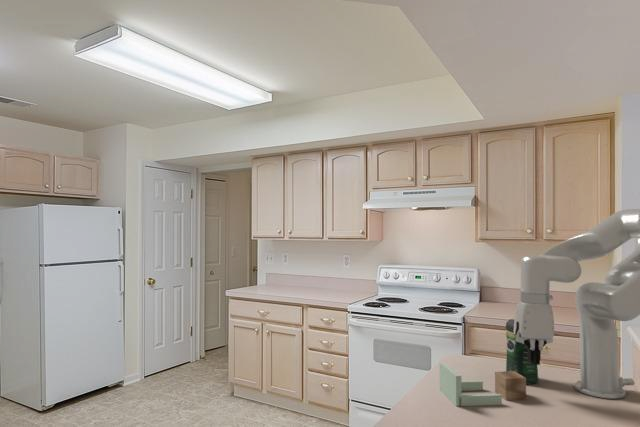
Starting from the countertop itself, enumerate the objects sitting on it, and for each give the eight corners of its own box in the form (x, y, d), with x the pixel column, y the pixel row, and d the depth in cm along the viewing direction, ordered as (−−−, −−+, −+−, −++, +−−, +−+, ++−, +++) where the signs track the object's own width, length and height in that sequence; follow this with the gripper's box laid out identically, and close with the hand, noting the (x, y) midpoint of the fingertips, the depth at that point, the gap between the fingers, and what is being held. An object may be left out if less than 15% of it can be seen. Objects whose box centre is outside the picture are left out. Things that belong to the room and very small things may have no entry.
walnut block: (514, 392, 130) (514, 371, 130) (526, 399, 124) (525, 378, 124) (495, 392, 129) (494, 371, 129) (505, 400, 123) (505, 378, 123)
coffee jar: (542, 384, 136) (541, 323, 137) (518, 385, 135) (517, 323, 136) (525, 374, 146) (524, 317, 146) (502, 374, 145) (501, 317, 146)
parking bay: (481, 388, 132) (481, 361, 132) (501, 404, 120) (501, 374, 120) (439, 390, 131) (439, 362, 131) (456, 406, 119) (456, 375, 119)
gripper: (551, 297, 133) (550, 359, 132) (503, 296, 131) (502, 359, 130) (567, 301, 125) (566, 367, 124) (517, 300, 124) (516, 367, 123)
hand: (533, 363), depth 127 cm, fingers closed
